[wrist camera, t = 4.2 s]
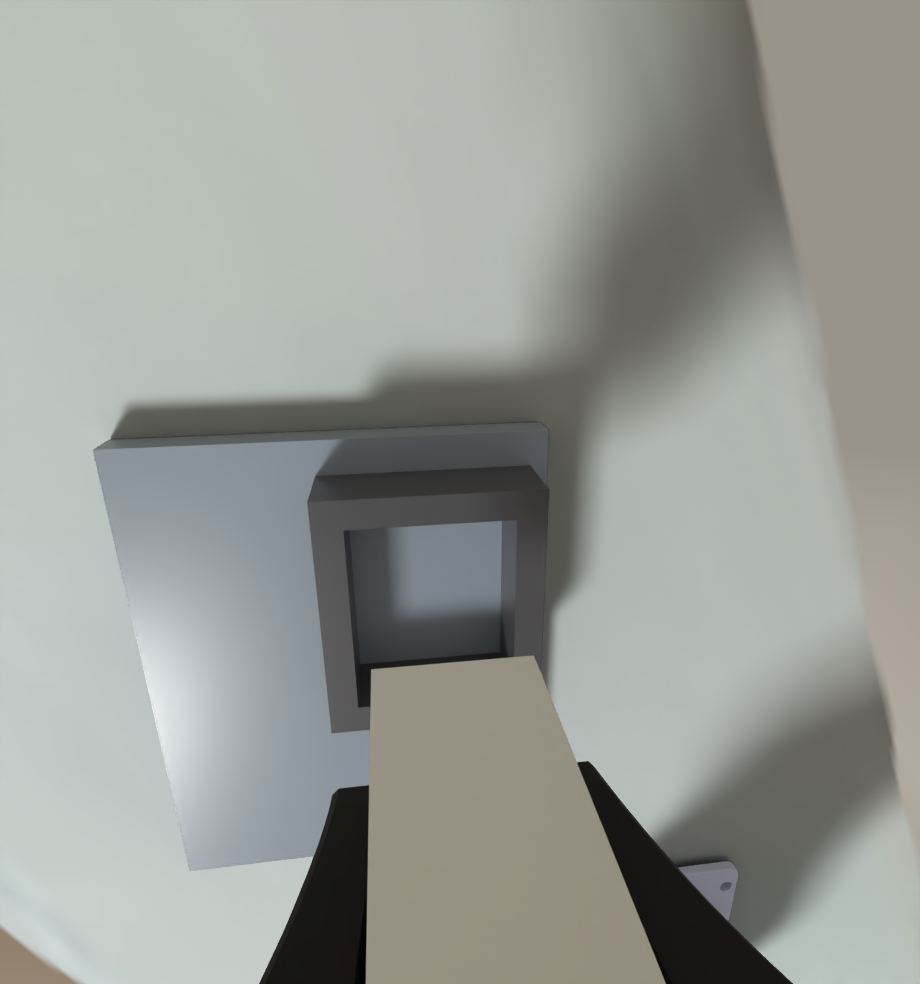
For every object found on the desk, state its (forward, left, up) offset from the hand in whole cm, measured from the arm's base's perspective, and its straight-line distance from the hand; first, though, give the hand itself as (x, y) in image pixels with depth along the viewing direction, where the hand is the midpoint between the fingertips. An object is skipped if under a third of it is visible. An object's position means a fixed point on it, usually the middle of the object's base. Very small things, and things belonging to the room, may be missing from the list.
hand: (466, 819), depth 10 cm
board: (-3, +2, -9) cm, 10 cm away
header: (0, 0, -8) cm, 8 cm away
